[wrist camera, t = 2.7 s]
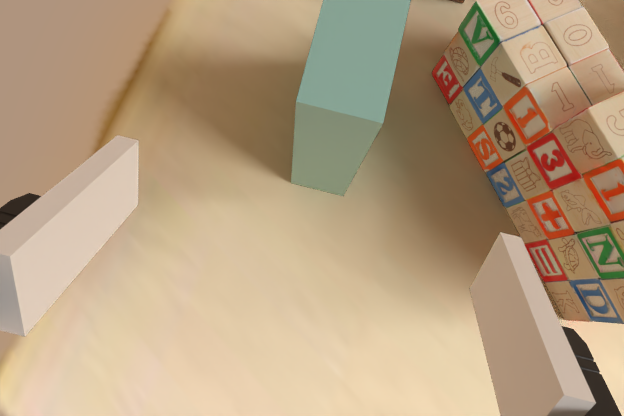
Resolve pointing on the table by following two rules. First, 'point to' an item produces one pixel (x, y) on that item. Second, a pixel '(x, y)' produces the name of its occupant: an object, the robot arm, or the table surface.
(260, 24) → the table surface
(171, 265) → the table surface
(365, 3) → the rectangular block
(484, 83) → the stack of blocks
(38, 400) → the table surface
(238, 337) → the table surface
